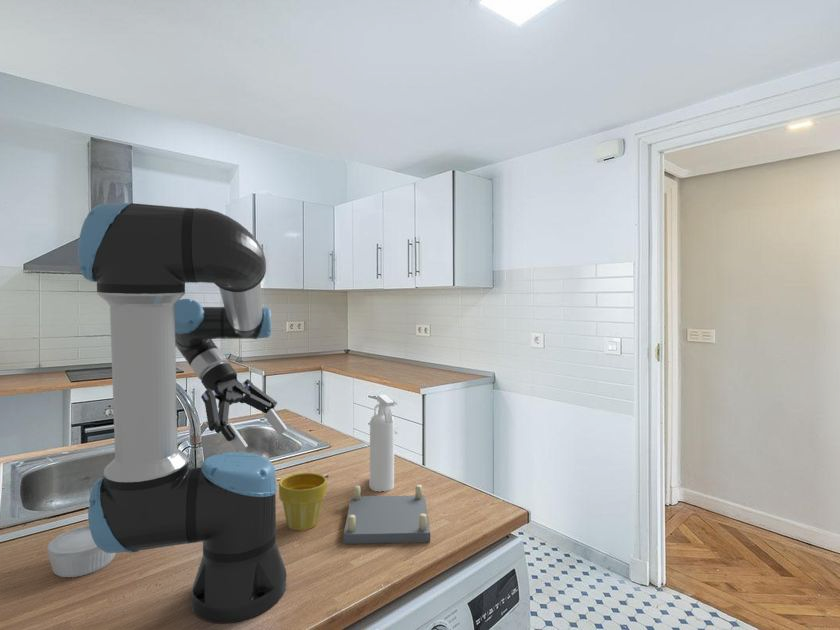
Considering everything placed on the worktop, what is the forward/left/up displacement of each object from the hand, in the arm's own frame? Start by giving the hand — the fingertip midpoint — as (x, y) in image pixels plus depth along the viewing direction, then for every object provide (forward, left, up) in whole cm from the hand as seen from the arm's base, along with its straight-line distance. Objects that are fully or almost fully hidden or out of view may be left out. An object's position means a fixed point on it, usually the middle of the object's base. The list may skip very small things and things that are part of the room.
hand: (264, 440), depth 107 cm
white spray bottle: (+15, -27, -17) cm, 35 cm away
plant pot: (-5, -10, -17) cm, 21 cm away
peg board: (-5, -29, -17) cm, 34 cm away
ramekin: (-19, +28, -18) cm, 38 cm away
